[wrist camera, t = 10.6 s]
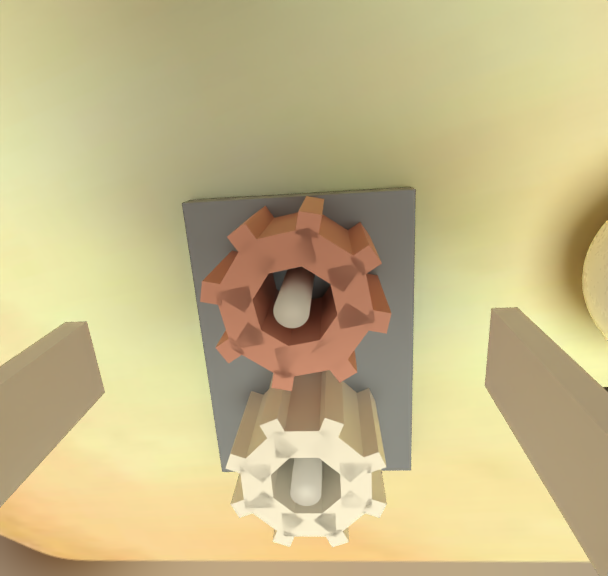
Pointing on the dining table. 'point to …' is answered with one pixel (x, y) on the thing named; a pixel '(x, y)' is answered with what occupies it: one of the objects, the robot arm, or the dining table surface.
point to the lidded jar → (597, 279)
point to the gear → (323, 311)
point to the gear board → (373, 347)
